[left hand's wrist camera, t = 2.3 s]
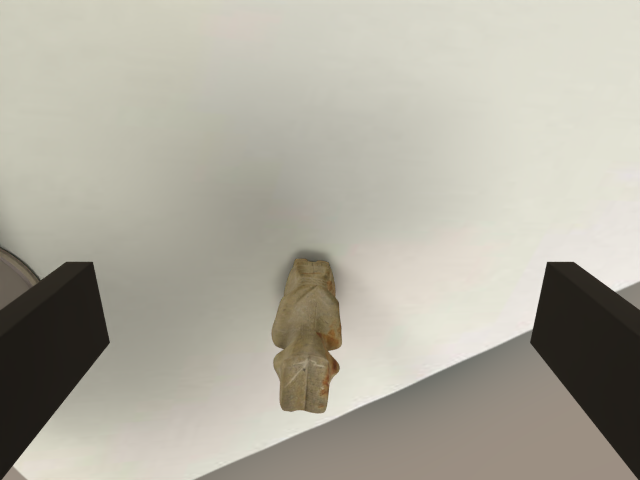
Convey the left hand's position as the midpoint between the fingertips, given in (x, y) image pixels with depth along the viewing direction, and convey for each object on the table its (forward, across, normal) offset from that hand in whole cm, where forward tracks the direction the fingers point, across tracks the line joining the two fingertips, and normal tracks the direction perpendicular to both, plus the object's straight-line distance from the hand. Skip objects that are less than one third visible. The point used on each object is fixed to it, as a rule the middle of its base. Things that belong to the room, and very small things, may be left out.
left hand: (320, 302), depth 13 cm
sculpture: (+28, +1, +13) cm, 31 cm away
